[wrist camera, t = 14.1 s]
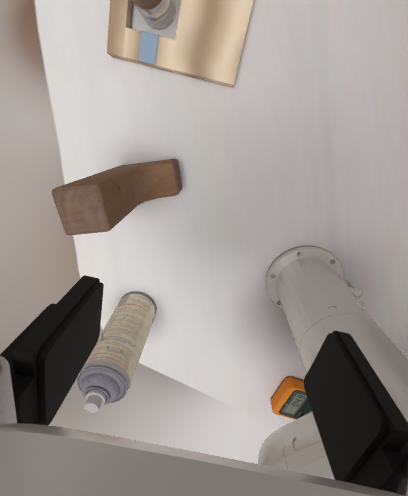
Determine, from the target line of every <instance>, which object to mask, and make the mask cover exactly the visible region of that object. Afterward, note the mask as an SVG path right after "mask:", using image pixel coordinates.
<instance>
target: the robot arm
mask: <svg viewBox="0 0 408 496" xmlns="http://www.w3.org/2000/svg"><path fill="white" fill-rule="evenodd" d="M298 252H299V253H298ZM330 260H331V261H330ZM271 274H272V275H271ZM266 288H267V292H268V294H269V297H270V299H271V300H272V302H273V303H274V304H275V305H276V306H278V307H279V308H281V309H282V310H284V312H285V315H286V318H287V320H288V323H289V326H290V329H291V332H292V334H293V337H294V340H295V343H296V345H297V348H298V351H299V354H300V357H301V359H302V362H303V365H304V367H305V369H306V371H307V375H306V377H305V379H304V388H305V391H306V395H307V398H308V401H309V404H310V407H311V410H312V412H310V413H308V414H306V415H304V416H302V417H300V418H298V419H297V420H295V421H293V422H291V423H289V424H287V425H285V426H283V427H281V428H280V429H278V430H277V431H275V432H274V433H272V434H271V435H270V436H268V437H267V439H266V440H265V441H264V443H263V444H262V446H261V449H260V452H259V460H258V464H254V463H249V462H244V461H239V460H234V459H229V458H224V457H219V456H213V455H209V454H203V453H198V452H193V451H188V450H183V449H177V448H172V447H167V446H162V445H156V444H151V443H146V442H141V441H136V440H131V439H125V438H120V437H115V436H109V435H103V434H98V433H92V432H86V431H80V430H75V429H69V428H63V427H56V426H48V425H49V424H50V422H51V421H52V419H53V418H54V416H55V414H56V412H57V411H58V409H59V407H60V406H61V404H62V402H63V400H64V398H65V397H66V395H67V393H68V392H69V390H70V389H71V387H72V385H73V383H74V382H75V380H76V378H77V377H78V375H79V373H80V371H81V370H82V368H83V366H84V364H85V363H86V361H87V359H88V358H89V356H90V354H91V352H92V351H93V349H94V347H95V346H96V344H97V341H98V339H99V333H100V322H101V310H102V298H103V283H100V281H99V279H98V278H94V277H89V276H83V277H82V278H81V279H80V280H79V281H78V282H77V283H76V284H75V285H74V286H73V287H72V288H71V289H70V290H69V292H68V293H67V294H66V295H65V296H64V297H63V298H62V299H61V300H60V301H59V302H58V303H57V304H50V305H49V306H48V307H47V308H46V309H45V310H44V311H43V312H42V313H41V314H40V315H39V316H38V317H37V318H36V319H35V320H34V321H33V322H32V323H31V324H30V325H29V326H28V327H27V328H26V329H25V330H24V331H23V332H22V333H21V334H20V335H19V336H18V337H17V338H16V339H15V340H14V341H13V342H12V343H11V344H10V345H9V346H8V347H7V348H6V349H5V350H4V351H3V352H2V353H1V354H0V496H408V360H407V358H406V357H405V356H404V355H403V354H402V353H401V352H400V351H399V349H398V348H397V347H396V346H395V345H394V344H393V343H392V342H391V340H390V339H389V338H388V337H387V336H386V334H385V333H384V332H383V331H382V330H381V328H380V327H379V326H378V325H377V324H376V322H375V321H374V320H373V319H372V318H371V316H370V315H369V314H368V313H367V311H366V310H365V309H364V308H363V304H362V302H360V301H358V300H357V299H356V298H355V297H360V296H361V294H362V291H361V289H358V288H354V287H349V286H348V285H347V283H346V282H345V281H344V272H343V269H342V266H341V264H340V263H339V261H338V260H337V259H336V258H335V257H334V256H333V255H332V254H331V253H329V252H328V251H326V250H324V249H321V248H317V247H309V246H305V247H298V248H295V249H291V250H289V251H287V252H285V253H284V254H282V255H281V256H279V257H278V258H277V259H276V260H275V261H274V262H273V264H272V265H271V267H270V268H269V271H268V273H267V277H266ZM354 296H355V297H354Z"/></svg>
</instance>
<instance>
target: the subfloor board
mask: <svg viewBox="0 0 408 496" xmlns="http://www.w3.org/2000/svg"><path fill="white" fill-rule="evenodd" d="M253 1H254V0H181V5H180V12H179V19H178V26H177V32H176V39H175V40H173V39H169V38H165V37H162V36H159V35H156V34H152V33H148V32H144V31H138V30H134V29H131V25H132V14H133V4H134V3H133V1H132V0H110V15H109V30H108V46H107V53H108V54H109V55H111V56H112V57H114V58H118V59H122V60H126V61H130V62H134V63H138V64H142V65H146V66H150V67H154V68H158V69H162V70H166V71H170V72H174V73H178V74H182V75H186V76H190V77H194V78H198V79H202V80H206V81H210V82H214V83H218V84H222V85H226V86H230V87H234V83H235V78H236V74H237V70H238V65H239V61H240V57H241V53H242V48H243V44H244V40H245V35H246V31H247V27H248V22H249V18H250V14H251V9H252V5H253Z"/></svg>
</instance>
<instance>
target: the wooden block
mask: <svg viewBox="0 0 408 496" xmlns="http://www.w3.org/2000/svg"><path fill="white" fill-rule="evenodd" d="M181 189H182V185H181V178H180V172H179V165H178V161H177V159H170V160H162V161H154V162H147V163H139V164H131V165H123V166H118V167H115V168H112V169H109V170H106V171H104V172H101V173H98V174H95V175H92V176H89V177H86V178H83V179H80V180H77V181H74V182H72V183H69V184H66V185H63V186H60V187H57V188H55V189H53V190H52V195H53V198H54V201H55V204H56V207H57V210H58V213H59V216H60V218H61V222H62V224H63V227H64V230H65V233H66V234H67V235H77V234H87V233H97V232H107V231H109V230H111V229H112V228H113V227H114V226H115V225H116V224H118V223H119V222H120V221H121V220H122V219H123V218H124V217H125V216H127V215H128V214H129V213H130V212H131V211H132V210H133V209H134V208H135V207H137V206H138V205H139V204H141V203H143V202H145V201H149V200H153V199H156V198H161V197H168V196H175V195H177V194H178V193H179V192H180V190H181Z"/></svg>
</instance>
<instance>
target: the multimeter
mask: <svg viewBox="0 0 408 496" xmlns="http://www.w3.org/2000/svg"><path fill="white" fill-rule="evenodd" d="M271 405H272V410H273V412H274V413H275V414H277V415H281V416H285V417H289V418H292V419H296V420H297V419H298V418H300V417H302V416H304V415H306V414H308V413H310V412H312V410H311V407H310V404H309V401H308V398H307V395H306V391H305V388H304V382H303V381H300V380H298V379H295V378H292V377H287V378H286V379H285V380H284V381H283V383H282V384H281V386H280V387H279V389H278V390H277V392H276V393H275V395H274V396H273V398H272V399H271Z"/></svg>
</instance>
